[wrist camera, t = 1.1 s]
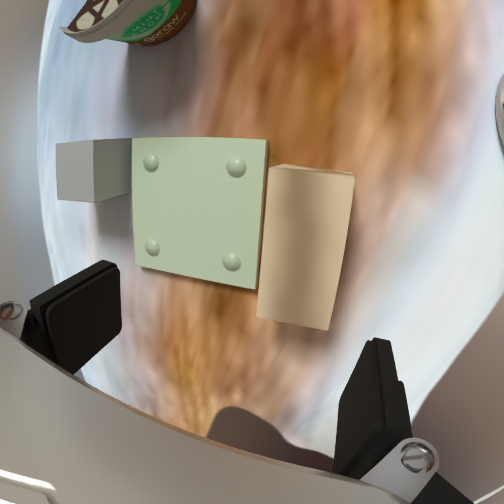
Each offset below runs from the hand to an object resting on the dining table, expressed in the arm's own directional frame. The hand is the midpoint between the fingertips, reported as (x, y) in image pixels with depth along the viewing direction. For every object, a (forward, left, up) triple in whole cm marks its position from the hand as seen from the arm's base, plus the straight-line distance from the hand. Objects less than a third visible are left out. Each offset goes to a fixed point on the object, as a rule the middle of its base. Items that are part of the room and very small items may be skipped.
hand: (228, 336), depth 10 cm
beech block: (-1, +1, -19) cm, 19 cm away
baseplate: (+11, 0, -19) cm, 22 cm away
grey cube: (+22, -4, -19) cm, 29 cm away
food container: (+15, -20, -19) cm, 31 cm away
